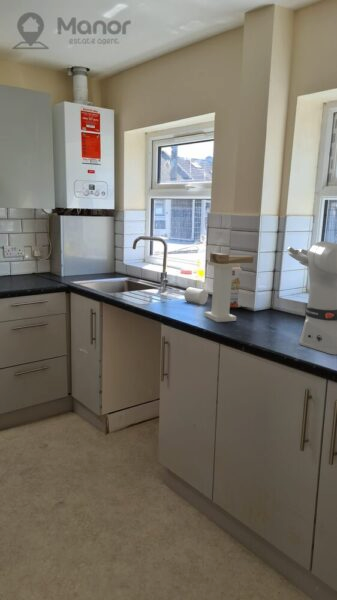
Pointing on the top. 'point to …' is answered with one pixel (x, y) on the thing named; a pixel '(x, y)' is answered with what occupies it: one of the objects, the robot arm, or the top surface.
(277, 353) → the top surface
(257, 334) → the top surface
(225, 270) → the stand
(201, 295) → the mug
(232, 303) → the cracker box
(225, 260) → the mallet
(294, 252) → the robot arm
